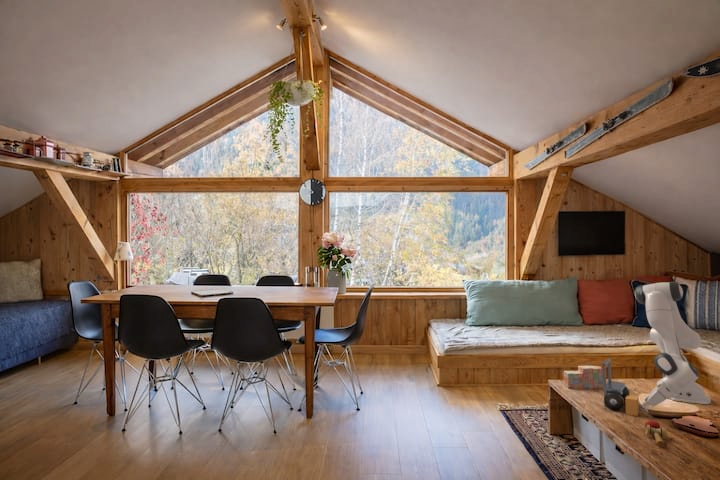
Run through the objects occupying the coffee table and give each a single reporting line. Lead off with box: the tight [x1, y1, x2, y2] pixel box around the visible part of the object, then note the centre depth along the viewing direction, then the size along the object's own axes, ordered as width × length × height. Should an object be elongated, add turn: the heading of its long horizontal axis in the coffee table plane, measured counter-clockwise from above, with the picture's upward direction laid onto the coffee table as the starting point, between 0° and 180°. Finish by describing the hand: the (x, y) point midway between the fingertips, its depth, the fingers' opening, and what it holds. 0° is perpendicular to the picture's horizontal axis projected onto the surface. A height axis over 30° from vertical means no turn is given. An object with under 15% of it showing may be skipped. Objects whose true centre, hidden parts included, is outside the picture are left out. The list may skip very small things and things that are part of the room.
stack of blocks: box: [563, 365, 604, 390], centre depth 272 cm, size 21×6×12 cm, turn 88°
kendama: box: [644, 419, 666, 448], centre depth 198 cm, size 8×6×18 cm
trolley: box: [602, 357, 631, 412], centre depth 241 cm, size 10×21×23 cm, turn 141°
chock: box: [625, 395, 640, 417], centre depth 228 cm, size 5×5×8 cm
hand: (644, 403), depth 225 cm, fingers open, 8 cm apart
